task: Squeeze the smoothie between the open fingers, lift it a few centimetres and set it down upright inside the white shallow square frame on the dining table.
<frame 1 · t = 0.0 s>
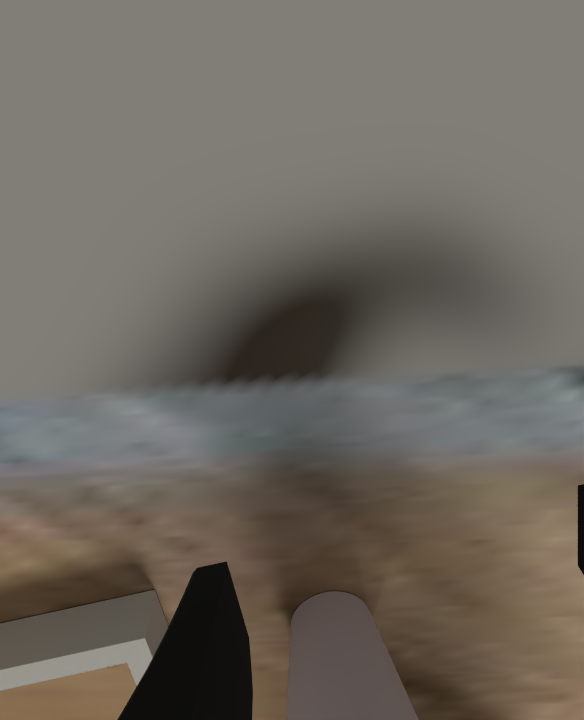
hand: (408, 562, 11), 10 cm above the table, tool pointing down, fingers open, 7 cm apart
smoothie: (330, 620, 25), on the table
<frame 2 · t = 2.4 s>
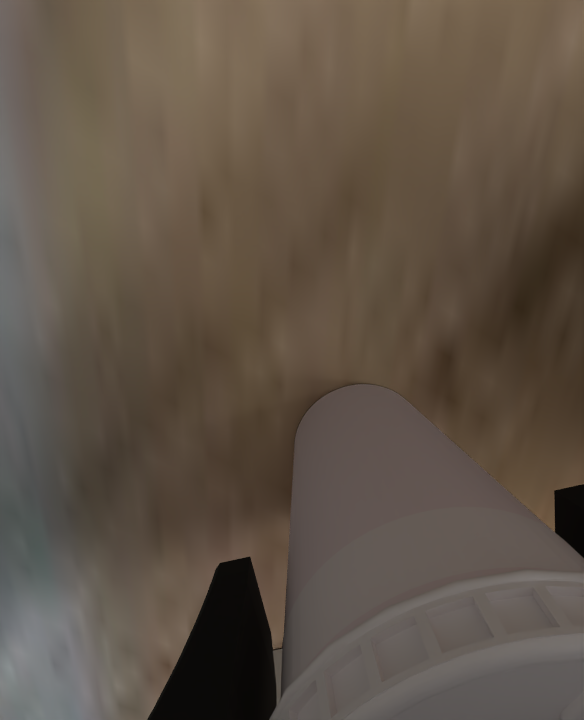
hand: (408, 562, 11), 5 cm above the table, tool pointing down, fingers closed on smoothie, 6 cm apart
smoothie: (357, 440, 16), on the table, touching gripper
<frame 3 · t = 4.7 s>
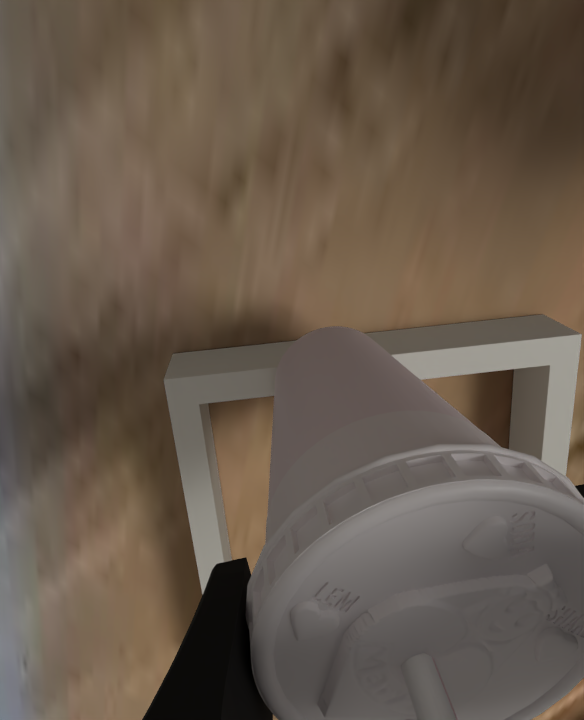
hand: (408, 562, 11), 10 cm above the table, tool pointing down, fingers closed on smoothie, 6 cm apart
white shallow square frame: (367, 492, 23), on the table
smoothie: (330, 377, 18), point 3 cm above the table, touching gripper
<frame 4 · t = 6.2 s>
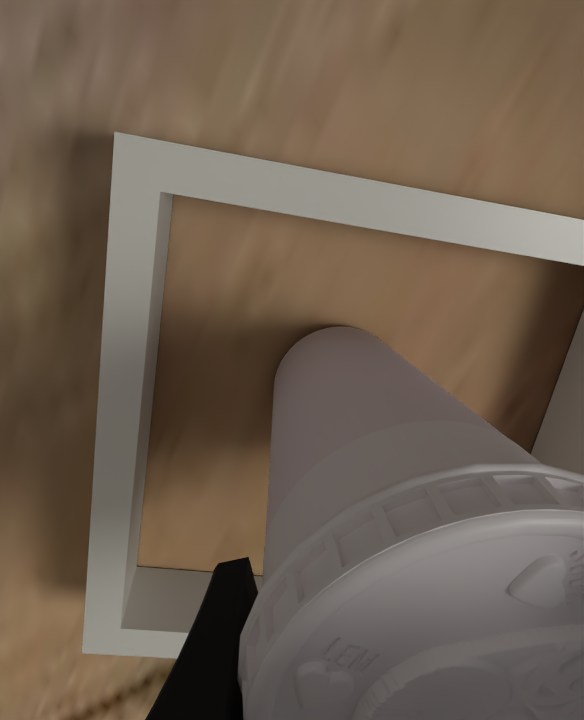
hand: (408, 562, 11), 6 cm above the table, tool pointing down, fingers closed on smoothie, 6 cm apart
white shallow square frame: (352, 424, 17), on the table
smoothie: (335, 382, 16), resting in white shallow square frame, touching gripper
when the fingers open (6 cm above the table, at t = 7.0 s): smoothie stays where it is, resting in white shallow square frame.
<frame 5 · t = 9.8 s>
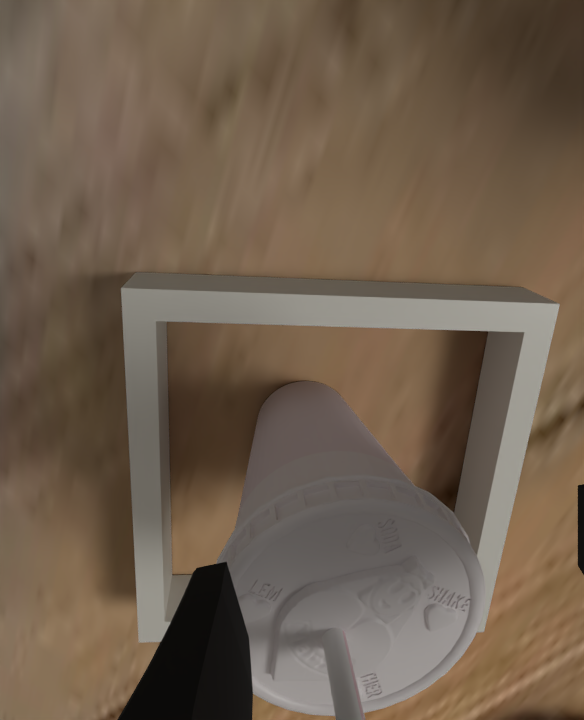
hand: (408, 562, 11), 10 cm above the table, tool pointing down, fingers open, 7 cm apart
white shallow square frame: (321, 452, 22), on the table
smoothie: (303, 422, 21), resting in white shallow square frame
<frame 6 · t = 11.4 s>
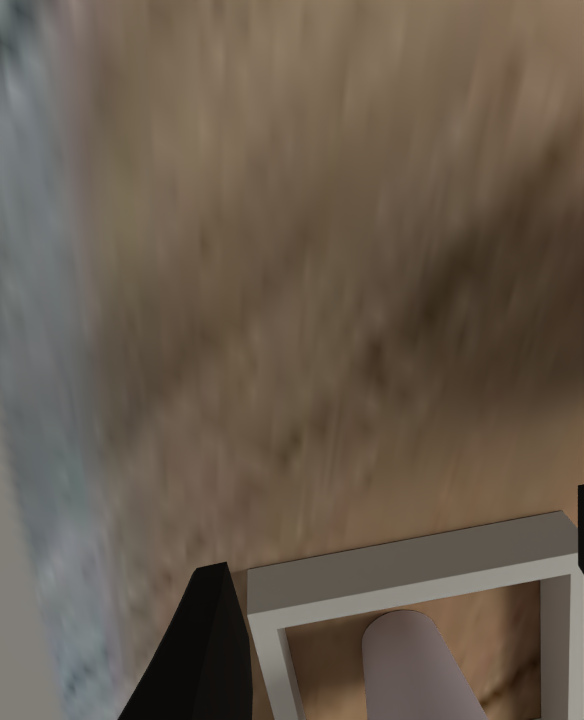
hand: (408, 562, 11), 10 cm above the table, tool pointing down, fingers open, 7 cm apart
white shallow square frame: (418, 656, 26), on the table
smoothie: (399, 636, 26), resting in white shallow square frame
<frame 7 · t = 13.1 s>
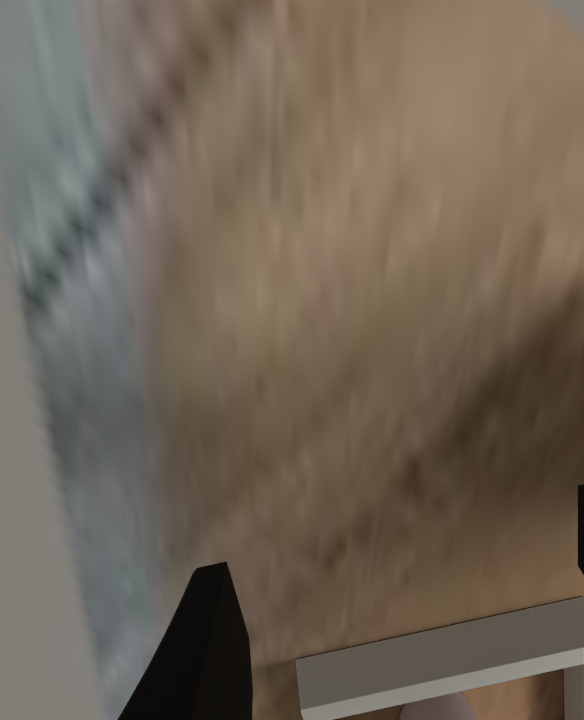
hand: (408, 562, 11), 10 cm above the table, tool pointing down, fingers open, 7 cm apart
smoothie: (433, 710, 28), resting in white shallow square frame
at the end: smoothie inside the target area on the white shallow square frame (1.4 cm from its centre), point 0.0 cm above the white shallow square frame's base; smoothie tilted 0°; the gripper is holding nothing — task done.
